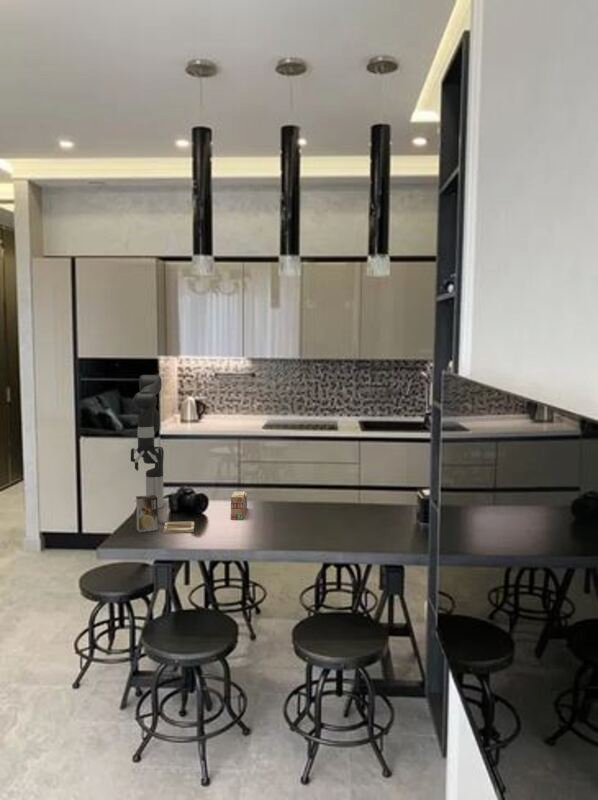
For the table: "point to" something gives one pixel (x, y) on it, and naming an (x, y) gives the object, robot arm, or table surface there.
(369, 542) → the table surface
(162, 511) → the table surface
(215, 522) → the table surface
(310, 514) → the table surface
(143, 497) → the coffee box
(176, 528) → the birch plate
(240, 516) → the printed cardboard box
